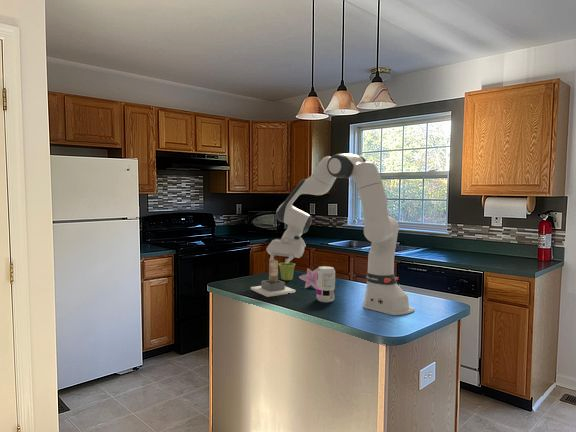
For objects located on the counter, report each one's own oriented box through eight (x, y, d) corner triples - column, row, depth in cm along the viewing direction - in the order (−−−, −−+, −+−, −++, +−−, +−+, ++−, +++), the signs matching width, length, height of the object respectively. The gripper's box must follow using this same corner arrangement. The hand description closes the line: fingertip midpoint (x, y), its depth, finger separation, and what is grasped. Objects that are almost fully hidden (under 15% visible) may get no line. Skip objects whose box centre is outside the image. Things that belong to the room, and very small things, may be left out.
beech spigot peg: (279, 289, 204) (279, 260, 203) (271, 290, 201) (272, 261, 200) (274, 287, 207) (275, 259, 206) (267, 288, 205) (267, 260, 204)
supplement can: (313, 301, 188) (314, 268, 187) (320, 296, 195) (321, 265, 194) (330, 303, 184) (331, 270, 183) (337, 299, 191) (337, 267, 190)
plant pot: (276, 280, 227) (276, 264, 227) (281, 277, 236) (281, 261, 236) (292, 282, 225) (292, 266, 224) (297, 278, 234) (297, 263, 233)
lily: (296, 287, 217) (296, 273, 212) (311, 276, 224) (311, 262, 219) (314, 298, 210) (314, 284, 205) (328, 286, 217) (329, 272, 212)
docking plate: (295, 292, 202) (295, 283, 202) (267, 296, 193) (267, 286, 193) (278, 285, 216) (278, 276, 215) (250, 289, 207) (250, 280, 206)
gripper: (271, 234, 218) (259, 255, 211) (304, 237, 207) (293, 260, 199) (276, 242, 222) (264, 263, 215) (308, 245, 211) (298, 267, 203)
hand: (278, 261), depth 207 cm, fingers open, 8 cm apart
